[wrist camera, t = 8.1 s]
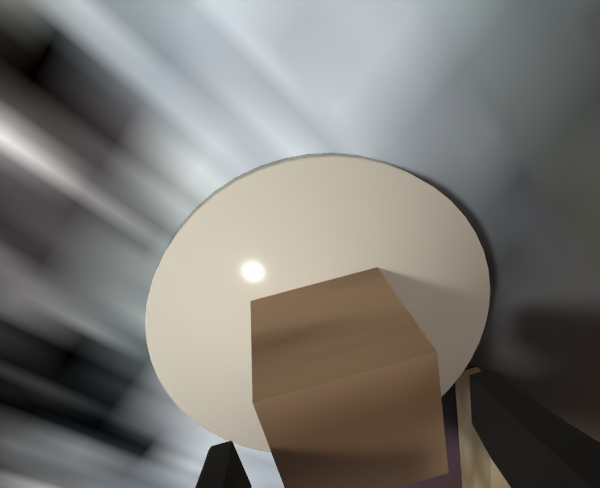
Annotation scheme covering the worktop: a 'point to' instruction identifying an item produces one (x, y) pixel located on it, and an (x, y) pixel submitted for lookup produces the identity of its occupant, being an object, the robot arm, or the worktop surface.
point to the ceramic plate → (305, 273)
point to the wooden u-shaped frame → (473, 443)
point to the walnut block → (346, 386)
